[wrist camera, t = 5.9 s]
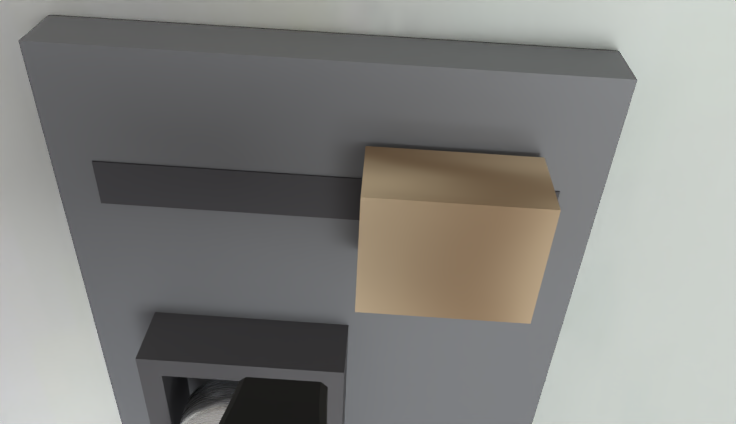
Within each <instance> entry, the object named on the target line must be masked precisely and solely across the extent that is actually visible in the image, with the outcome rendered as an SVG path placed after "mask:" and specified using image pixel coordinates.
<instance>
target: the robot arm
mask: <svg viewBox="0 0 736 424" xmlns="http://www.w3.org/2000/svg"><path fill="white" fill-rule="evenodd" d="M327 402H328V387H327V386H326V385H324V384H323V383H322V382H317V381H301V380H286V379H271V378H255V377H245V378H243V379H242V380H240V381H239V382H238V385H237V387H236V389H235V391H234V394H233V396H232V398H231V400H230V402H229V404H228V406H227V408H226V410H225V412H224V414H223V416H222V418H221V420H220V422H219V424H327Z"/></svg>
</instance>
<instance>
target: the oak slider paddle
mask: <svg viewBox="0 0 736 424" xmlns="http://www.w3.org/2000/svg"><path fill="white" fill-rule="evenodd" d="M560 212H561V209H560V206H559V203H558V200H557V196H556V193H555V190H554V187H553V183H552V180H551V177H550V174H549V171H548V167H547V164H546V161H545V158H543V157H528V156H513V155H497V154H482V153H466V152H451V151H435V150H420V149H404V148H389V147H373V146H366V147H365V157H364V167H363V178H362V188H361V200H360V220H359V240H358V260H357V280H356V300H355V312H362V313H377V314H392V315H407V316H422V317H436V318H451V319H466V320H481V321H496V322H511V323H526V324H531V320H532V316H533V313H534V309H535V305H536V301H537V298H538V294H539V290H540V286H541V283H542V279H543V275H544V271H545V268H546V264H547V260H548V256H549V253H550V249H551V245H552V241H553V238H554V234H555V230H556V226H557V223H558V219H559V215H560Z"/></svg>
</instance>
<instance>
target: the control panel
mask: <svg viewBox="0 0 736 424" xmlns="http://www.w3.org/2000/svg"><path fill="white" fill-rule="evenodd" d="M19 44H20V48H21V51H22V55H23V59H24V62H25V66H26V70H27V74H28V77H29V81H30V85H31V88H32V92H33V96H34V99H35V103H36V107H37V111H38V114H39V118H40V122H41V125H42V129H43V133H44V136H45V140H46V144H47V148H48V151H49V155H50V159H51V162H52V166H53V170H54V173H55V177H56V181H57V185H58V188H59V192H60V196H61V199H62V203H63V207H64V211H65V214H66V218H67V222H68V225H69V229H70V233H71V236H72V240H73V244H74V248H75V251H76V255H77V259H78V262H79V266H80V270H81V273H82V277H83V281H84V285H85V288H86V292H87V296H88V299H89V303H90V307H91V311H92V314H93V318H94V322H95V325H96V329H97V333H98V336H99V340H100V344H101V348H102V351H103V355H104V359H105V362H106V366H107V370H108V373H109V377H110V381H111V385H112V388H113V392H114V396H115V399H116V403H117V407H118V410H119V414H120V418H121V422H122V424H180V421H181V418H182V415H183V412H184V409H185V406H186V403H187V400H188V398H189V396H190V395H191V394H192V393H193V391H194V390H196V389H197V388H198V387H199V386H201V385H203V384H205V383H207V382H209V381H212V380H215V379H217V380H231V381H240V380H242V379H243V378H245V377H255V378H271V379H286V380H301V381H317V382H322V383H323V384H324V385H326V386H327V387H328V402H327V424H532V422H533V418H534V415H535V412H536V409H537V405H538V402H539V399H540V395H541V392H542V389H543V386H544V382H545V379H546V376H547V373H548V369H549V366H550V363H551V360H552V356H553V353H554V350H555V347H556V343H557V340H558V337H559V333H560V330H561V327H562V324H563V320H564V317H565V314H566V311H567V307H568V304H569V301H570V298H571V294H572V291H573V288H574V285H575V281H576V278H577V275H578V271H579V268H580V265H581V262H582V258H583V255H584V252H585V249H586V245H587V242H588V239H589V236H590V232H591V229H592V226H593V223H594V219H595V216H596V213H597V209H598V206H599V203H600V200H601V196H602V193H603V190H604V187H605V183H606V180H607V177H608V174H609V170H610V167H611V164H612V160H613V157H614V154H615V151H616V147H617V144H618V141H619V138H620V134H621V131H622V128H623V125H624V121H625V118H626V115H627V112H628V108H629V105H630V102H631V98H632V95H633V92H634V89H635V85H636V82H637V79H636V77H635V76H634V74H633V72H632V71H631V69H630V68H629V66H628V64H627V63H626V61H625V60H624V58H623V56H622V55H621V53H620V52H619V51H609V50H593V49H577V48H561V47H546V46H530V45H514V44H498V43H482V42H466V41H450V40H435V39H419V38H403V37H387V36H371V35H355V34H339V33H324V32H308V31H292V30H276V29H260V28H244V27H228V26H213V25H197V24H181V23H165V22H149V21H133V20H117V19H102V18H86V17H70V16H54V15H49V16H47V17H46V18H45V19H44V20H43V21H41V22H40V23H39V24H38V25H37V26H35V27H34V28H33V29H32V30H31V31H29V32H28V33H27V34H26V35H25V36H24V37H22V38H21V39H20V40H19ZM366 146H373V147H389V148H404V149H420V150H435V151H451V152H466V153H482V154H497V155H513V156H528V157H543V158H545V161H546V164H547V167H548V171H549V174H550V177H551V180H552V183H553V187H554V190H555V193H556V196H557V200H558V203H559V206H560V209H561V212H560V215H559V219H558V223H557V226H556V230H555V234H554V238H553V241H552V245H551V249H550V253H549V256H548V260H547V264H546V268H545V271H544V275H543V279H542V283H541V286H540V290H539V294H538V298H537V301H536V305H535V309H534V313H533V316H532V320H531V324H526V323H511V322H496V321H481V320H466V319H451V318H436V317H422V316H407V315H392V314H377V313H362V312H355V300H356V280H357V260H358V240H359V220H360V200H361V188H362V178H363V167H364V157H365V147H366Z"/></svg>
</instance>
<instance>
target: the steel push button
mask: <svg viewBox="0 0 736 424" xmlns="http://www.w3.org/2000/svg"><path fill="white" fill-rule="evenodd" d="M238 382H239V381H231V380H217V379H215V380H212V381H209V382H207V383H205V384H203V385H201V386H199V387H198V388H197V389H196V390H194V391H193V393H192V394H191V395H190V396H189V398H188V400H187V403H186V406H185V409H184V412H183V415H182V418H181V421H180V424H219V422H220V420H221V418H222V416H223V414H224V412H225V410H226V408H227V406H228V404H229V402H230V400H231V398H232V396H233V394H234V391H235V389H236V387H237V385H238Z"/></svg>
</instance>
